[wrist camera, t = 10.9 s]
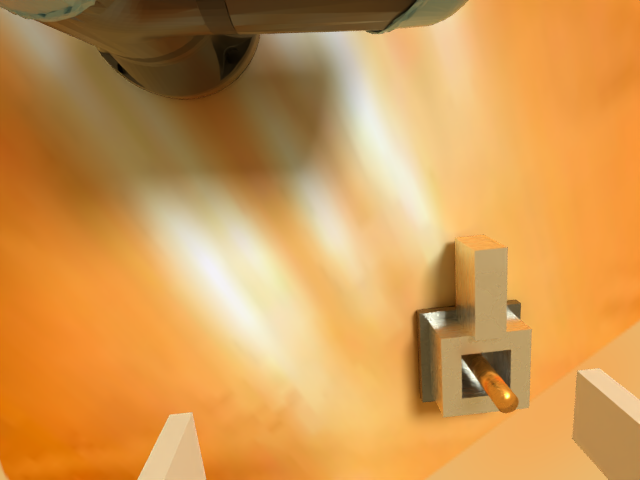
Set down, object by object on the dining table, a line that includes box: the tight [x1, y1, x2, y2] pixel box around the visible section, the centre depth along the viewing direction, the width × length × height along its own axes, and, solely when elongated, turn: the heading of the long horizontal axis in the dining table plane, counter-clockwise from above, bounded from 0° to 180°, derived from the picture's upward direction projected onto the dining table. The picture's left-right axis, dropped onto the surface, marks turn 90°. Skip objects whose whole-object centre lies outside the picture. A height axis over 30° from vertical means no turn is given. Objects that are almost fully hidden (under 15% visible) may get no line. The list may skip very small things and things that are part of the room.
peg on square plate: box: [417, 300, 521, 413], centre depth 41 cm, size 11×11×10 cm
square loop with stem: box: [429, 235, 532, 417], centre depth 41 cm, size 18×9×5 cm, turn 6°
